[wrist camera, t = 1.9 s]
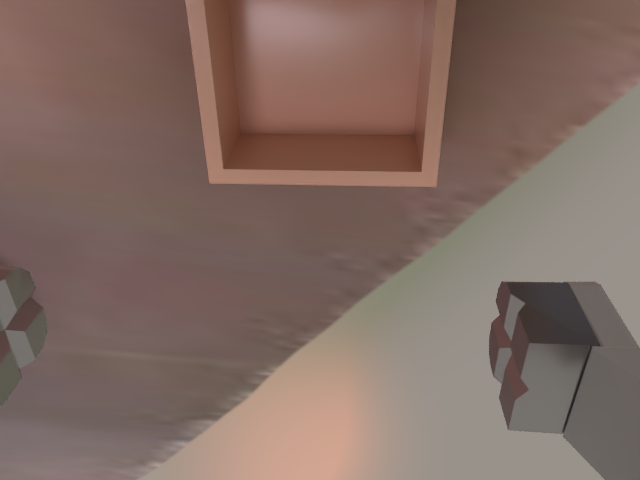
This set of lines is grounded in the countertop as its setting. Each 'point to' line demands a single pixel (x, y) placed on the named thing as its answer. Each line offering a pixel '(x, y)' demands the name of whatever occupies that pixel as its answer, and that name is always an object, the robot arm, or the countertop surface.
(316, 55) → the peach open box
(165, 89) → the countertop surface
